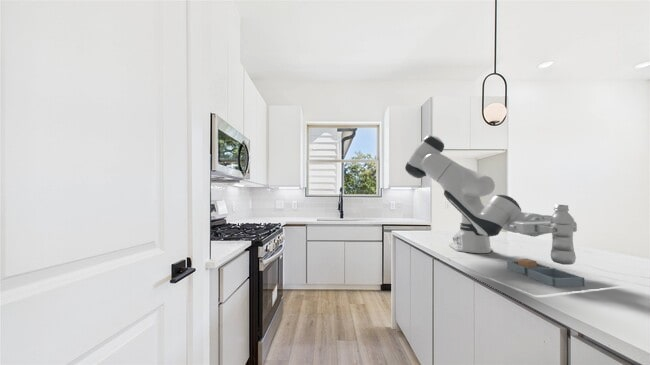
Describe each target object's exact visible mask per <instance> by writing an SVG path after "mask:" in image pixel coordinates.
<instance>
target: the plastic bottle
mask: <svg viewBox="0 0 650 365" xmlns="http://www.w3.org/2000/svg"><path fill="white" fill-rule="evenodd" d="M553 210H554V213H553V214H552V215H551V216H552V217H551V218H550V225H551V227H555V228H556V232H555V233H551V239H552V241H551V242H552V243H551V250H550V258H551V260H552V261H553V262H554V263H557V264H559V265H567V266H568V265H570V266H571V265H574V263H576V259H577V257H576V252H575V249H574V248H575V247H574V241H573V240H574V239H573V237H574V232H573V229H574V222H576V221H575V219H574V218H573V216H572V215H571V213H569V211H570V210H569V205H568V204H554V208H553Z"/></svg>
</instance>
